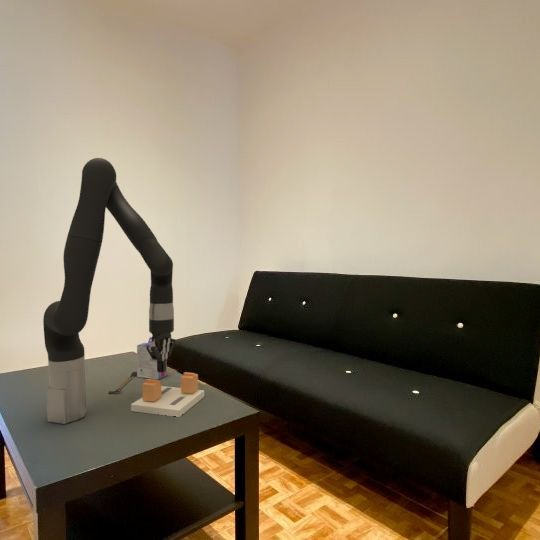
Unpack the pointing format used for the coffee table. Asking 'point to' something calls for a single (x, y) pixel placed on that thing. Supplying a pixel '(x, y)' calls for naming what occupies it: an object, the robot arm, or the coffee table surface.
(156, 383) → the tab
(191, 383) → the tab
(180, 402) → the switch bank
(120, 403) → the coffee table surface
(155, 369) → the ink cartridge box
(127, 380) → the tactical tomahawk
